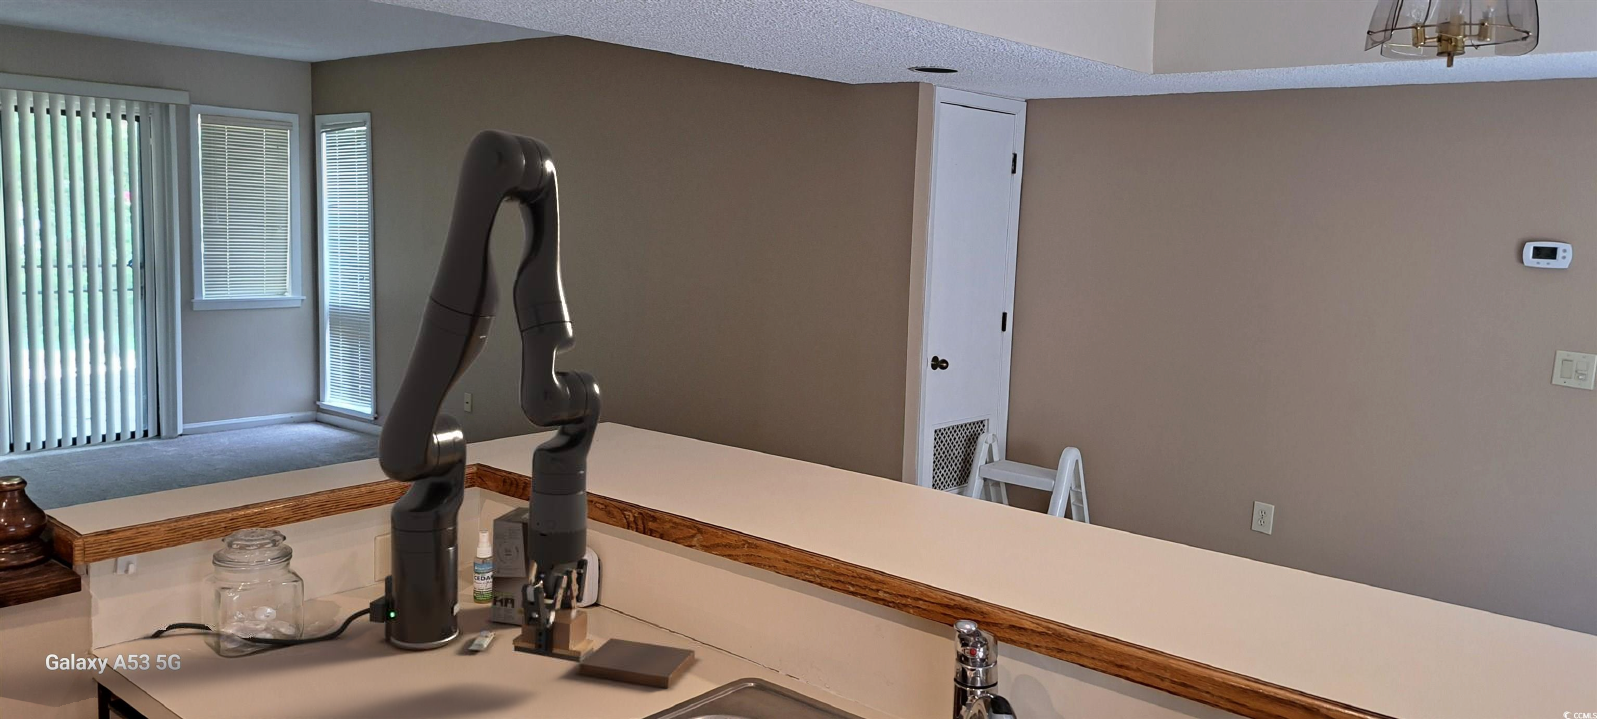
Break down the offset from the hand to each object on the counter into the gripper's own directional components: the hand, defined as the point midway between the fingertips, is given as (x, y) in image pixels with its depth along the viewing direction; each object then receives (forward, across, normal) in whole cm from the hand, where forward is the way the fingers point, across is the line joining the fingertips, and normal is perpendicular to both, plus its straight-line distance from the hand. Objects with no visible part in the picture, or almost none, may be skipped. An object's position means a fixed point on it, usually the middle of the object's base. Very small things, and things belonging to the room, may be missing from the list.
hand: (554, 645), depth 142 cm
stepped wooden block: (+1, 0, 0) cm, 1 cm away
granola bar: (+6, -8, -16) cm, 18 cm away
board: (+5, -9, +8) cm, 13 cm away
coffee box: (+6, -21, -17) cm, 27 cm away
